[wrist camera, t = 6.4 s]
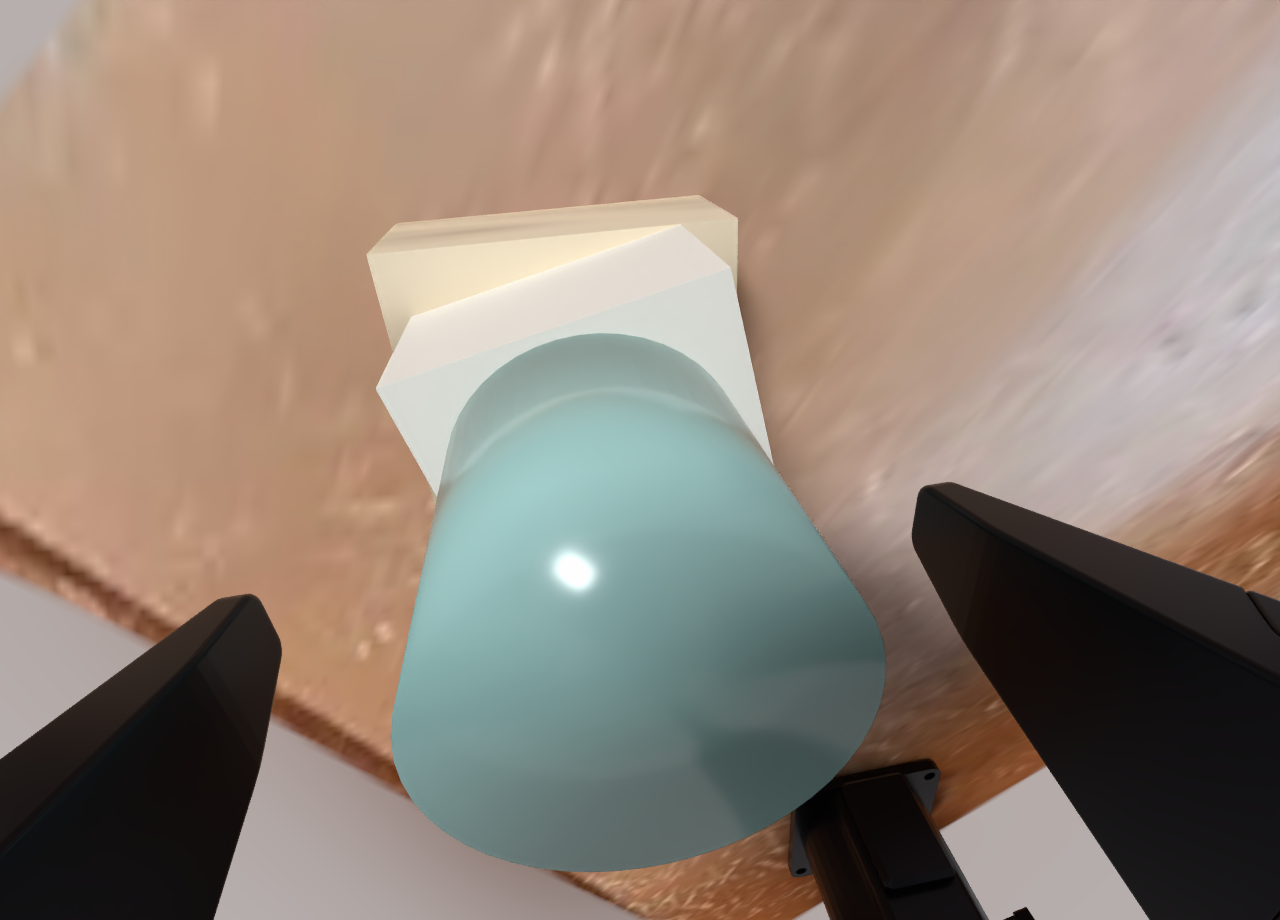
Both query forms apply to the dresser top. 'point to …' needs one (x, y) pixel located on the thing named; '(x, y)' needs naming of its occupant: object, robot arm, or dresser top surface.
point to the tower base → (522, 249)
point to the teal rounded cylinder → (623, 622)
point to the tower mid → (571, 332)
